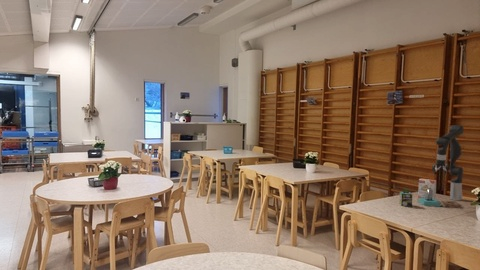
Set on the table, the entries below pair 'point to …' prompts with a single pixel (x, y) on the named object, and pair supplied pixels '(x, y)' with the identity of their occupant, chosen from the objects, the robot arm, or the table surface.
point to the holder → (451, 204)
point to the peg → (429, 194)
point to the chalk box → (405, 198)
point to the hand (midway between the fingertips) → (439, 174)
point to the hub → (429, 202)
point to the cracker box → (426, 187)
